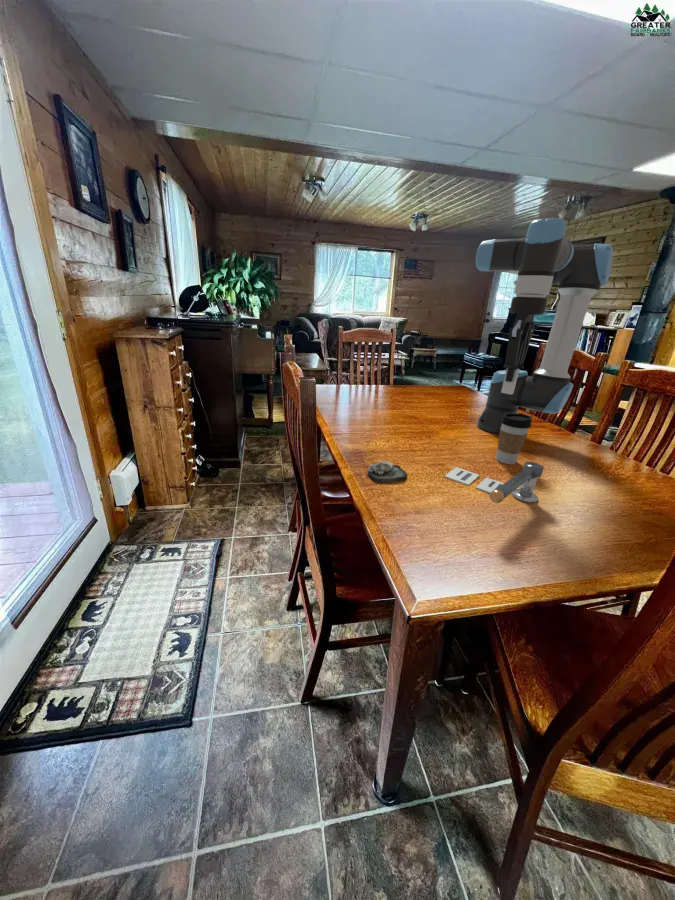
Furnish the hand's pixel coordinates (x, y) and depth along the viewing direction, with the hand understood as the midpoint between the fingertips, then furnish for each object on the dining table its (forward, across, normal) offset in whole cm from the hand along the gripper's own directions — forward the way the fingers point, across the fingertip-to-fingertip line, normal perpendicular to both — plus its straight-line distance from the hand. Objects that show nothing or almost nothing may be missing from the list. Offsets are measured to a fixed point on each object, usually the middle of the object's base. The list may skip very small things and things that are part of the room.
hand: (507, 393), depth 93 cm
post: (+24, +7, +12) cm, 28 cm away
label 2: (+24, +8, +4) cm, 26 cm away
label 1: (+24, +8, -4) cm, 26 cm away
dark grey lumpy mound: (+24, +23, -20) cm, 39 cm away
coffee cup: (+25, -14, +1) cm, 28 cm away
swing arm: (+17, +17, +11) cm, 26 cm away
